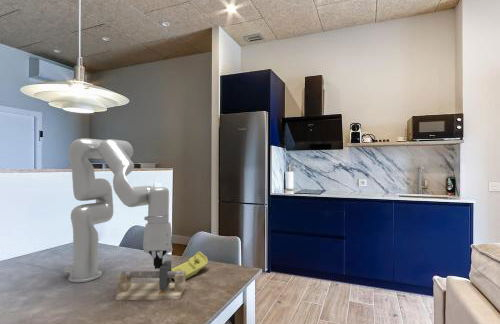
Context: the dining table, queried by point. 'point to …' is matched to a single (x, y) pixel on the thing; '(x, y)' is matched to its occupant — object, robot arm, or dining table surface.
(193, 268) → the plastic component
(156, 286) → the pipe stand
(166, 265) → the collar
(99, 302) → the dining table surface
